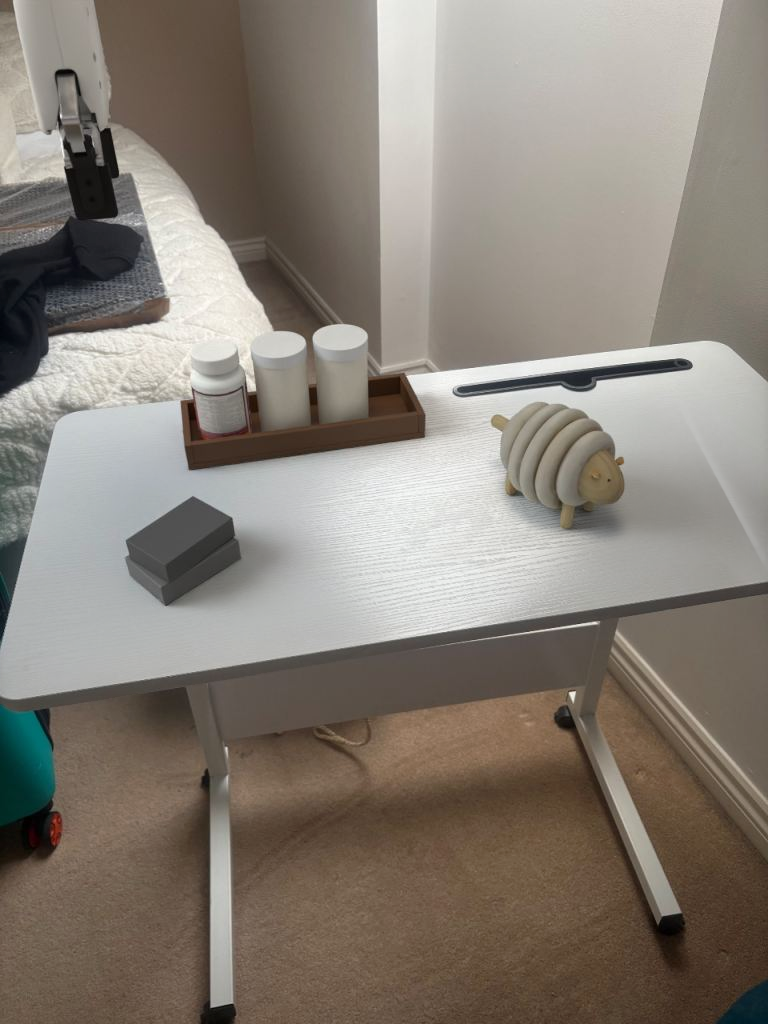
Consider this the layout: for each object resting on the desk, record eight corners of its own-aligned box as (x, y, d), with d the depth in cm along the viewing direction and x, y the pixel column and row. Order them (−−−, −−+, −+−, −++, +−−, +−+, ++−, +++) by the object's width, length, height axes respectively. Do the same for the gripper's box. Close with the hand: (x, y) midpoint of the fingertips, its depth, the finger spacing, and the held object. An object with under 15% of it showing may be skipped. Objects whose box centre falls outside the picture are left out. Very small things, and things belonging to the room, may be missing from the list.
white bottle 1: (270, 447, 96) (261, 362, 88) (252, 420, 100) (242, 338, 93) (320, 433, 98) (314, 349, 91) (300, 408, 102) (293, 326, 95)
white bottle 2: (330, 438, 97) (325, 354, 90) (310, 413, 101) (304, 330, 94) (378, 425, 99) (377, 342, 92) (356, 400, 103) (353, 319, 96)
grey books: (166, 607, 77) (157, 569, 74) (128, 574, 80) (117, 537, 77) (243, 558, 82) (238, 521, 79) (204, 529, 86) (197, 492, 83)
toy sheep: (584, 559, 82) (603, 469, 75) (454, 486, 91) (459, 400, 84) (640, 510, 88) (663, 422, 81) (512, 446, 97) (522, 362, 90)
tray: (188, 470, 93) (184, 446, 91) (184, 423, 101) (180, 400, 99) (424, 437, 98) (425, 413, 96) (404, 395, 106) (404, 372, 104)
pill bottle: (215, 417, 100) (202, 332, 93) (261, 426, 99) (251, 340, 92) (190, 444, 96) (174, 357, 89) (238, 454, 94) (225, 367, 87)
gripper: (2, -63, 64) (59, 168, 74) (-30, -35, 51) (44, 240, 62) (103, -65, 65) (144, 162, 76) (97, -39, 52) (147, 231, 63)
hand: (99, 197), depth 69 cm, fingers open, 9 cm apart
